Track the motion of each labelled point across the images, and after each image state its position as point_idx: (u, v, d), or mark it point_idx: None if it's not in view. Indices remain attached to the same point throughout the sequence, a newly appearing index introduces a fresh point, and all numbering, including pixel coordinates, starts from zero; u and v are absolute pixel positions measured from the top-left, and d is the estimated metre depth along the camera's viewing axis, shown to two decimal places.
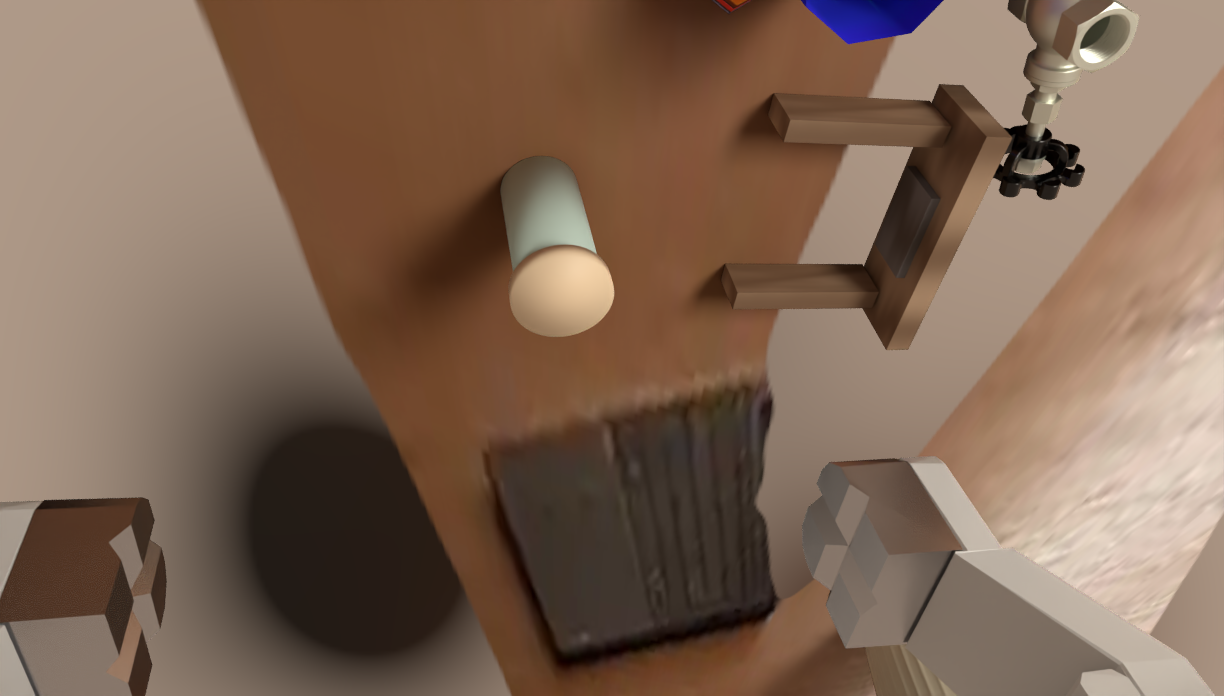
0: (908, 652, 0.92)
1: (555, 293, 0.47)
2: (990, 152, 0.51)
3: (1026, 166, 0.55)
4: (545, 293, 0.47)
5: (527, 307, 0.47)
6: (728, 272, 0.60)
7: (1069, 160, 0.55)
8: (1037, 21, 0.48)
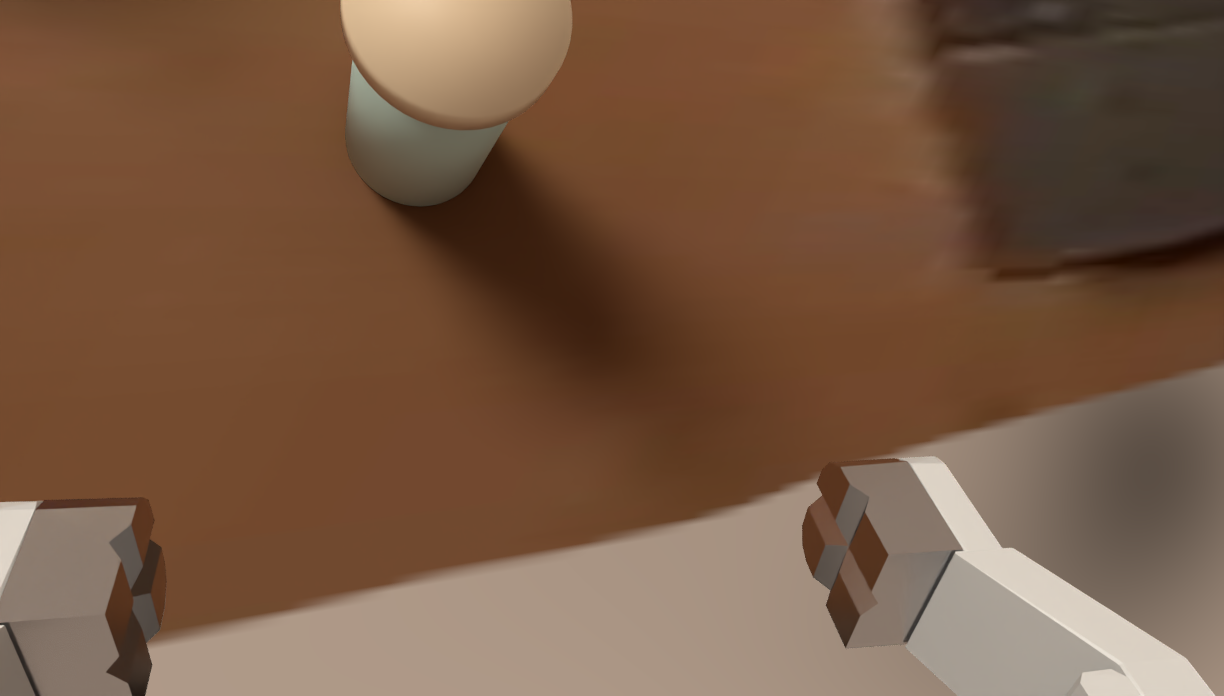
0: None
1: (446, 17, 0.21)
2: None
3: None
4: (445, 39, 0.21)
5: (481, 81, 0.21)
6: None
7: None
8: None
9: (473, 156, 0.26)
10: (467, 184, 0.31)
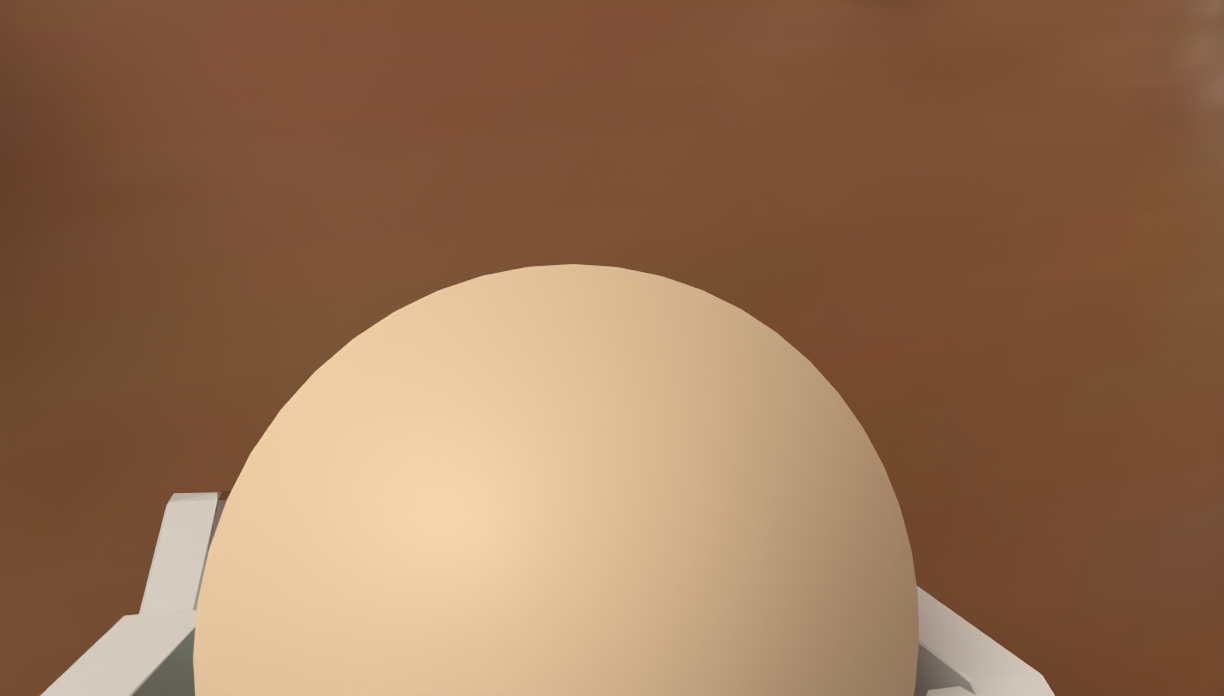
0: None
1: (548, 682, 0.07)
2: None
3: None
4: None
5: None
6: None
7: None
8: None
9: None
10: None
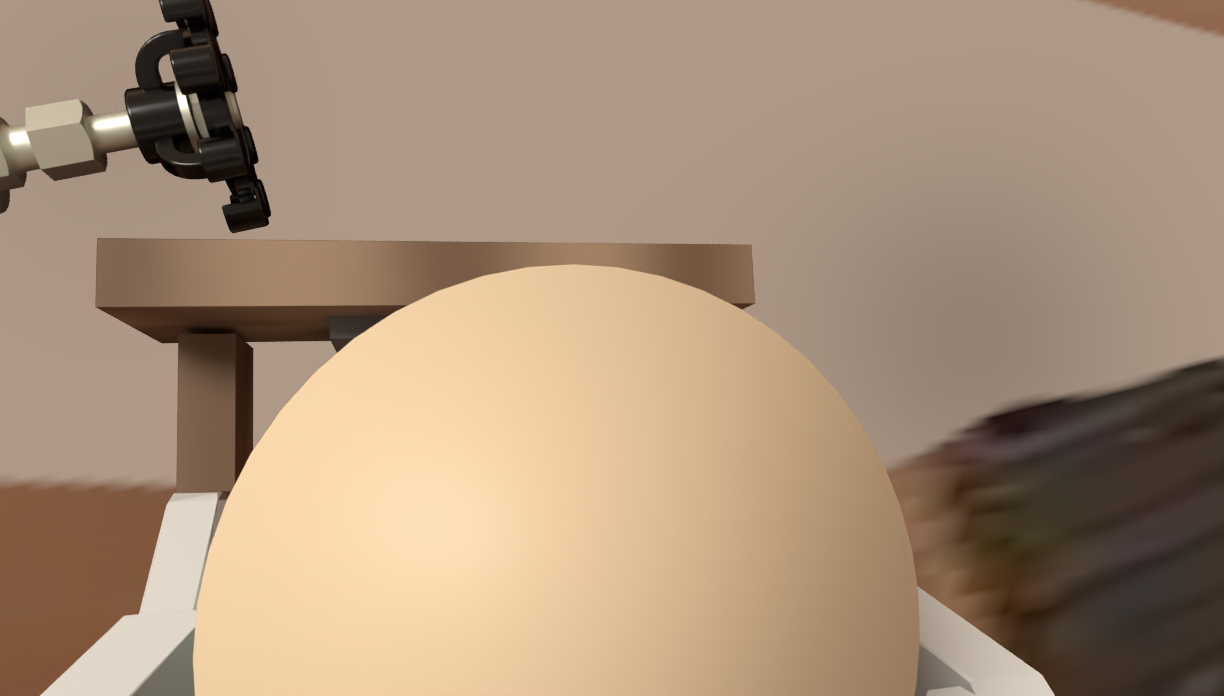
0: None
1: (548, 683, 0.07)
2: (141, 277, 0.21)
3: None
4: None
5: None
6: None
7: None
8: None
9: None
10: None
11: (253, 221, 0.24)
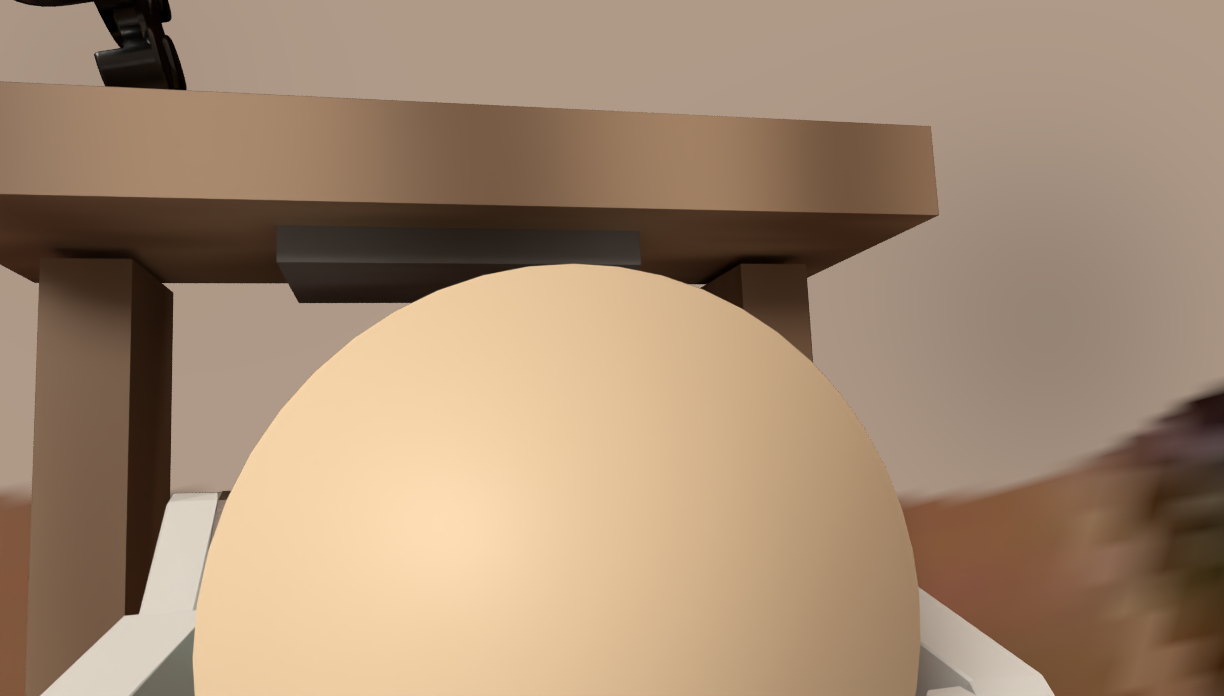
0: None
1: (549, 683, 0.07)
2: None
3: None
4: None
5: None
6: None
7: None
8: None
9: None
10: None
11: (146, 80, 0.16)
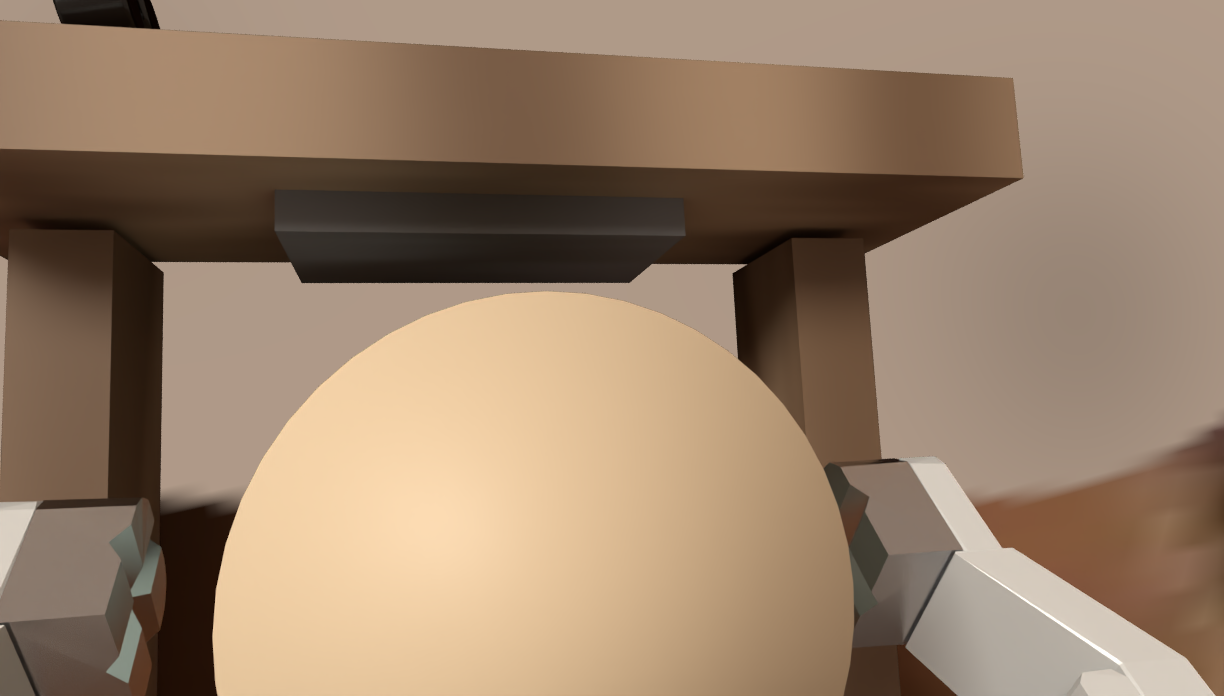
0: None
1: (523, 659, 0.08)
2: None
3: None
4: None
5: None
6: None
7: None
8: None
9: None
10: None
11: None
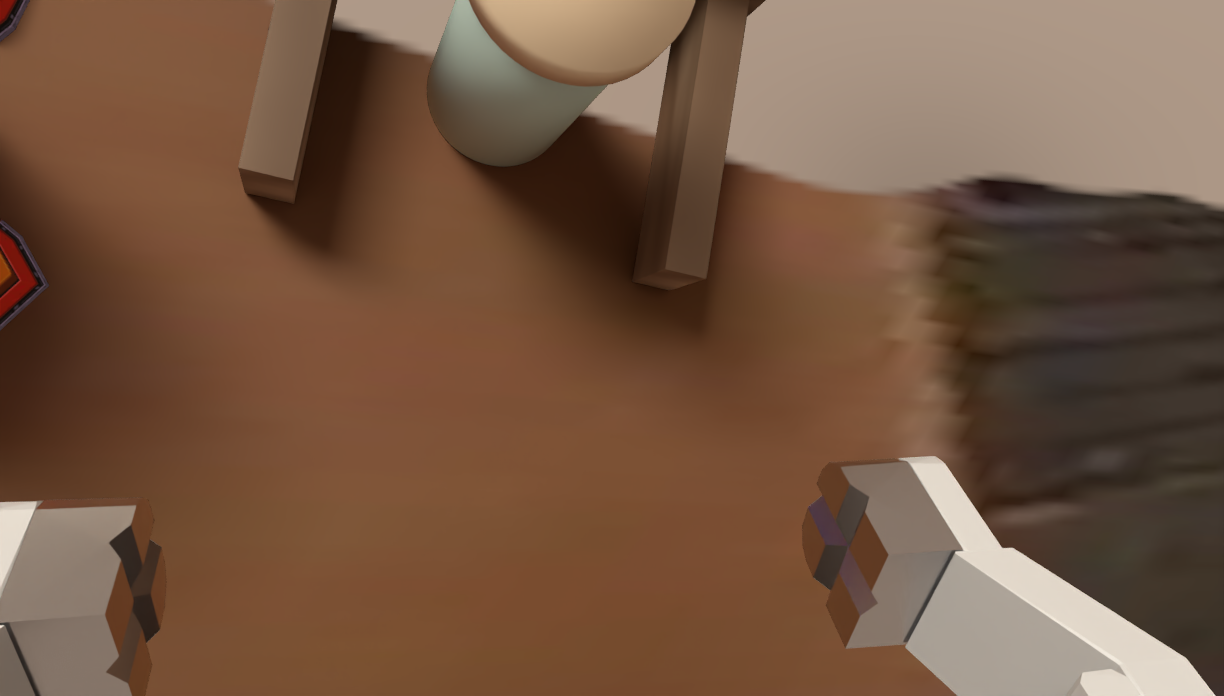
0: None
1: None
2: None
3: None
4: None
5: (600, 35, 0.20)
6: (643, 278, 0.30)
7: None
8: None
9: (565, 117, 0.25)
10: (546, 148, 0.30)
11: None
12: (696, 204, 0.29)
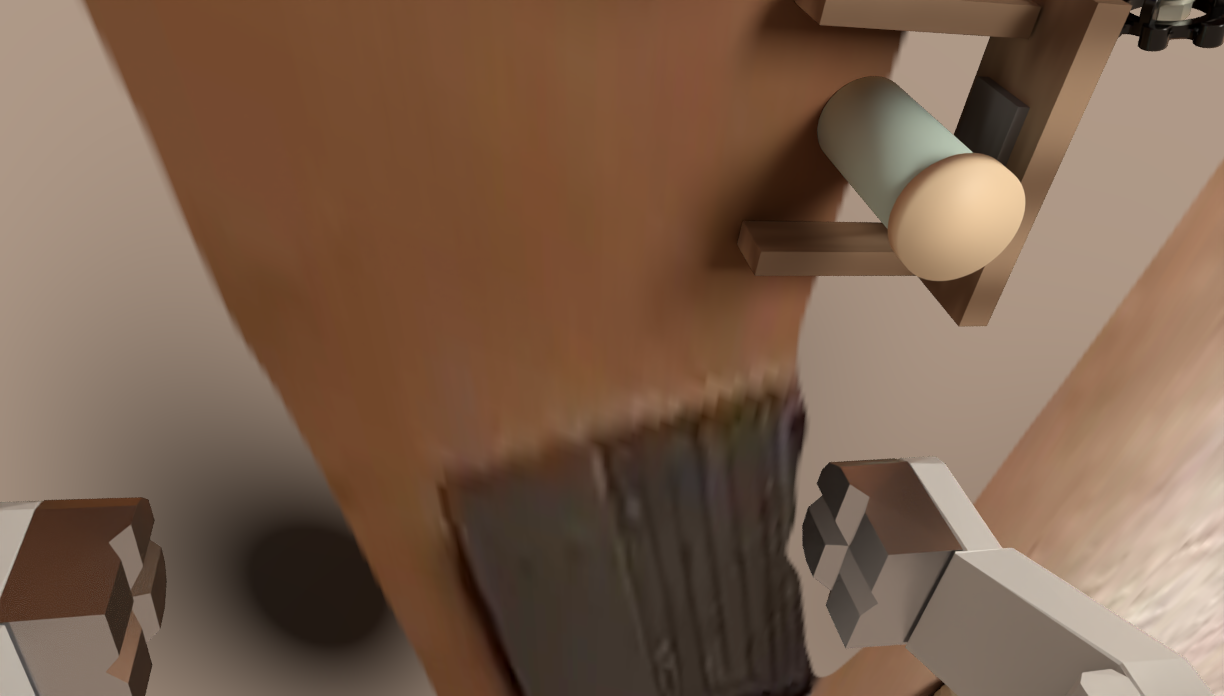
0: None
1: (955, 218, 0.37)
2: (1102, 28, 0.37)
3: (1171, 12, 0.40)
4: (943, 218, 0.37)
5: (917, 237, 0.37)
6: (747, 230, 0.46)
7: None
8: None
9: (859, 192, 0.41)
10: (829, 159, 0.45)
11: None
12: (800, 263, 0.45)
